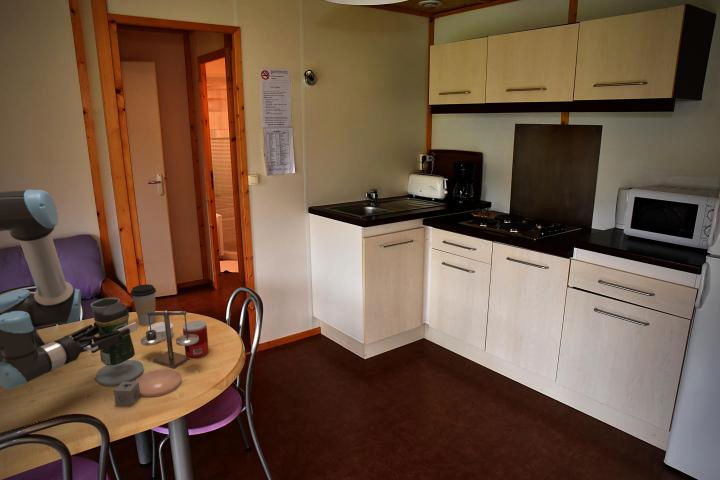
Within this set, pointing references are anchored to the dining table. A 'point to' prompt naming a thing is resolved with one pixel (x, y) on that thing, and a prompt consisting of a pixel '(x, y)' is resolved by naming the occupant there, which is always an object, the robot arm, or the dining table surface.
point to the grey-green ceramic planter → (103, 303)
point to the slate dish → (119, 373)
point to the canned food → (202, 345)
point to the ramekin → (161, 329)
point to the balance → (169, 341)
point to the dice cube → (127, 394)
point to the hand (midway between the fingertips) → (126, 323)
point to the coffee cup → (144, 302)
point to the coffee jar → (110, 322)
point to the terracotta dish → (158, 382)
